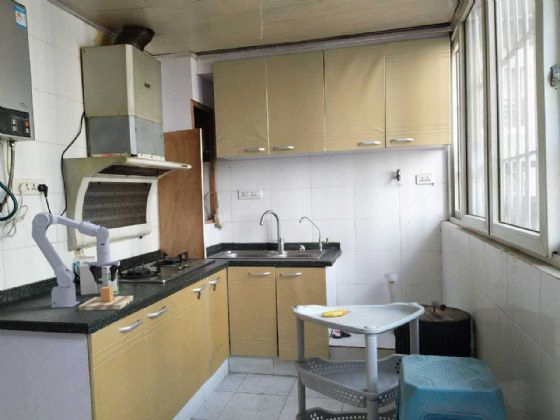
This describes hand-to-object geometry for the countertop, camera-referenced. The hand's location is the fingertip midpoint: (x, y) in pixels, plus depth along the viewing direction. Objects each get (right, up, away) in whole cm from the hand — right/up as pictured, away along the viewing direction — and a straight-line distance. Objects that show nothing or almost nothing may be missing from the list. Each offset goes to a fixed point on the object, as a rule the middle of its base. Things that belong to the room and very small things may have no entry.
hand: (104, 281), depth 194 cm
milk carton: (-16, -10, +19) cm, 26 cm away
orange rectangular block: (+4, -10, -7) cm, 12 cm away
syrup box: (-3, -9, +15) cm, 18 cm away
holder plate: (+4, -10, -7) cm, 13 cm away
